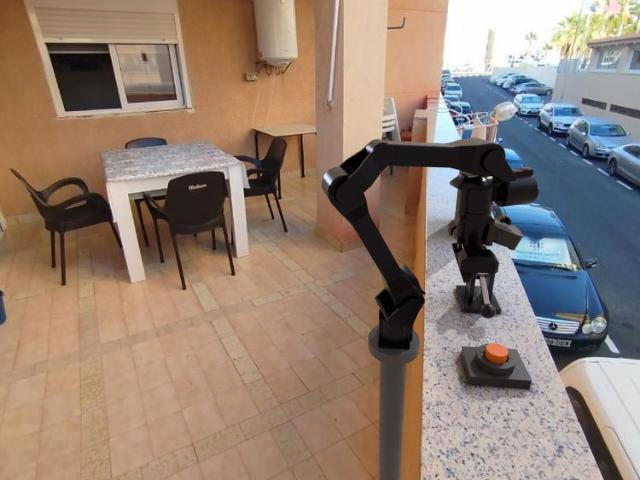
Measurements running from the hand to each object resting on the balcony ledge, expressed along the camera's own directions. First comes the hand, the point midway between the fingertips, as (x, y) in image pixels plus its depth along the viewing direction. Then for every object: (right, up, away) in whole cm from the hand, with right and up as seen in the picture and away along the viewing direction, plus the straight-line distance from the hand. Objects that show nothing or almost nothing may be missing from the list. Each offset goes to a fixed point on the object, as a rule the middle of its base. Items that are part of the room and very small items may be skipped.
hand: (466, 281), depth 75 cm
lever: (+7, -4, +9) cm, 12 cm away
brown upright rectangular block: (+21, +12, +53) cm, 58 cm away
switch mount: (+8, -6, +14) cm, 17 cm away
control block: (+3, -16, -6) cm, 17 cm away
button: (+3, -13, -7) cm, 15 cm away
